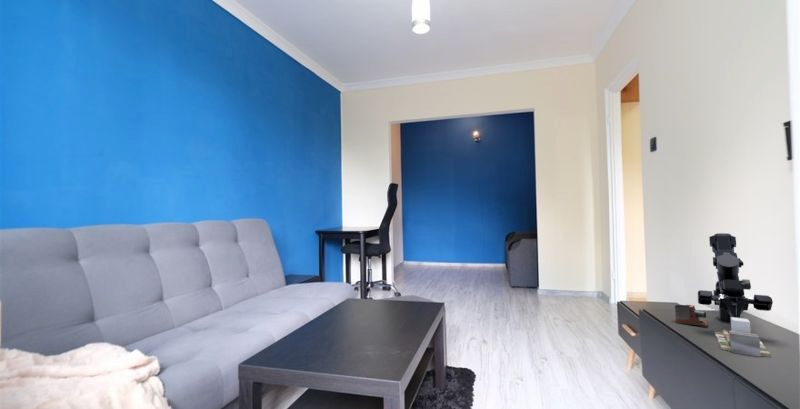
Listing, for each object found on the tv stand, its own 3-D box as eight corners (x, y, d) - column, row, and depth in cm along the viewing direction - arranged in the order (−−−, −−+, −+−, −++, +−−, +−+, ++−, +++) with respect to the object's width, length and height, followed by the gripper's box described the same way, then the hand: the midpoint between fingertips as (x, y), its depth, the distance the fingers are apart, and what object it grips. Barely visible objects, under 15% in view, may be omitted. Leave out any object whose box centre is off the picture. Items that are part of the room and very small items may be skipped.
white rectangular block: (717, 338, 115) (715, 315, 115) (748, 343, 110) (747, 318, 111) (718, 342, 112) (717, 318, 112) (751, 347, 107) (749, 322, 107)
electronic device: (707, 328, 128) (705, 308, 128) (675, 323, 135) (673, 304, 135) (708, 325, 131) (706, 306, 131) (676, 320, 138) (675, 302, 138)
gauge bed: (714, 334, 122) (713, 317, 122) (758, 340, 115) (756, 322, 115) (722, 350, 108) (720, 332, 108) (771, 358, 102) (770, 338, 102)
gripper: (696, 268, 125) (701, 305, 116) (769, 272, 113) (781, 313, 104) (695, 285, 131) (700, 321, 122) (764, 290, 119) (775, 330, 110)
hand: (737, 321), depth 114 cm, fingers closed
